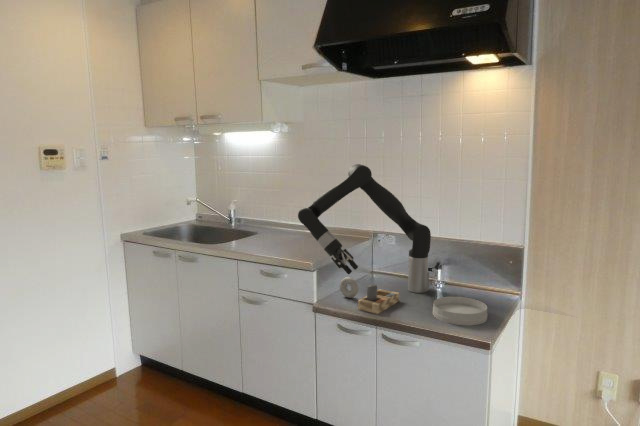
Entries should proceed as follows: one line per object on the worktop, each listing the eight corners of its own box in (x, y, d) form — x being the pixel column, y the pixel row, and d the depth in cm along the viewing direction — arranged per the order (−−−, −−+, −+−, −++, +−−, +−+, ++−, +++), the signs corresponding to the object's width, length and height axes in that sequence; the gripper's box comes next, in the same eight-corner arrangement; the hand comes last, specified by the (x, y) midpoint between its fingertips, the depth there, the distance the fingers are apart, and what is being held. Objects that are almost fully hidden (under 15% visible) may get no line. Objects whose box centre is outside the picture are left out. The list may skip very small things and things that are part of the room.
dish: (446, 303, 212) (446, 293, 211) (495, 314, 198) (495, 303, 197) (423, 317, 195) (423, 306, 194) (475, 330, 181) (475, 318, 181)
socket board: (379, 297, 221) (379, 288, 220) (398, 301, 215) (399, 292, 214) (357, 309, 205) (357, 299, 204) (378, 313, 199) (378, 304, 198)
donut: (359, 298, 219) (359, 278, 217) (355, 300, 216) (355, 279, 215) (342, 294, 225) (342, 274, 224) (338, 296, 222) (338, 276, 221)
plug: (373, 305, 210) (374, 283, 208) (378, 308, 205) (378, 286, 204) (365, 306, 208) (365, 284, 207) (369, 309, 204) (369, 287, 202)
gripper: (329, 241, 203) (354, 269, 200) (340, 235, 216) (364, 261, 213) (318, 251, 205) (342, 280, 203) (330, 245, 218) (353, 272, 216)
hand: (353, 270), depth 208 cm, fingers open, 8 cm apart
